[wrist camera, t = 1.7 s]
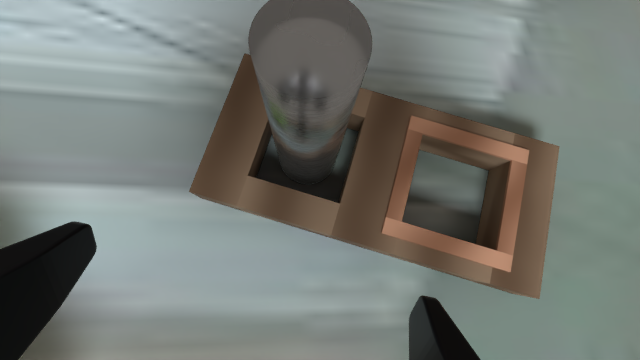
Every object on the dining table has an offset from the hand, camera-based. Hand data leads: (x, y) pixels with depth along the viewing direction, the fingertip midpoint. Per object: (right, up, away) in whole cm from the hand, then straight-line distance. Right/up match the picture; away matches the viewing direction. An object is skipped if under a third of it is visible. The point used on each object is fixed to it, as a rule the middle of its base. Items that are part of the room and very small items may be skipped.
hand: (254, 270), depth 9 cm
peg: (+1, +4, +14) cm, 15 cm away
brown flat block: (+6, +3, +14) cm, 16 cm away
